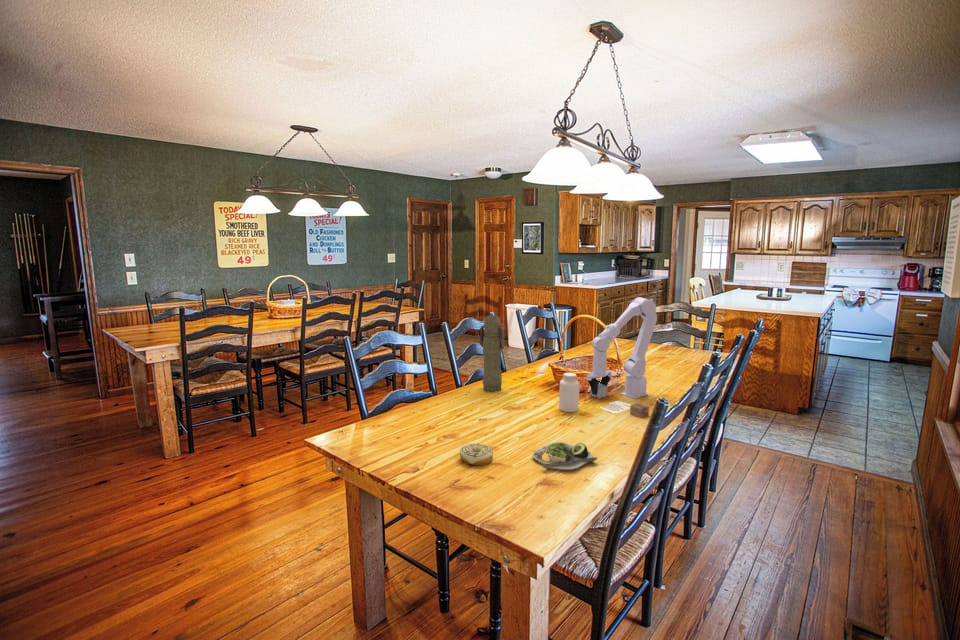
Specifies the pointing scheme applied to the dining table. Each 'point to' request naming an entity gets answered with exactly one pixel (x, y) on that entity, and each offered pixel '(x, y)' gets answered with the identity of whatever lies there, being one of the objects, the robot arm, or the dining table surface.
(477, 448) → the decorated donut
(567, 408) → the pill bottle
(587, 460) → the salad plate
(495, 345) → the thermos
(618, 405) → the letter
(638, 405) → the walnut block
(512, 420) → the dining table surface
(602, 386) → the slate cube
